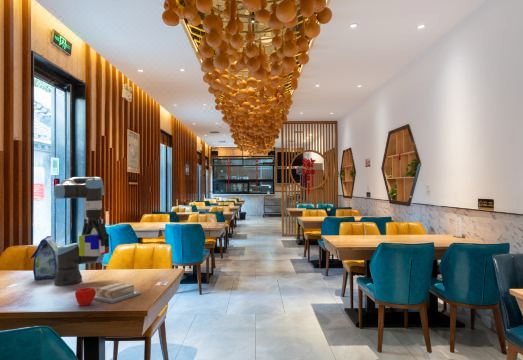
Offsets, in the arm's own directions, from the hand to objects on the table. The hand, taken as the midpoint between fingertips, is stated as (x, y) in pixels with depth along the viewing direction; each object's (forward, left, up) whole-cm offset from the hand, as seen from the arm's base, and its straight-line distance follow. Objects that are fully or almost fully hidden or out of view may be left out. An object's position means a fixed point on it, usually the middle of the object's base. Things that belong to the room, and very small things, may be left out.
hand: (94, 251), depth 193 cm
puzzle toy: (0, 0, -2) cm, 2 cm away
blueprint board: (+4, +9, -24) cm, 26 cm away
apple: (+4, -8, -25) cm, 26 cm away
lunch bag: (-79, +20, -25) cm, 85 cm away
